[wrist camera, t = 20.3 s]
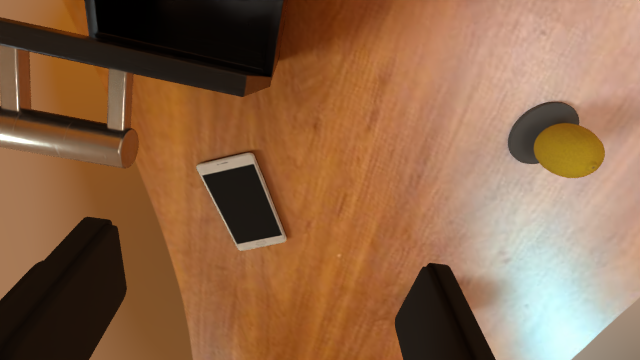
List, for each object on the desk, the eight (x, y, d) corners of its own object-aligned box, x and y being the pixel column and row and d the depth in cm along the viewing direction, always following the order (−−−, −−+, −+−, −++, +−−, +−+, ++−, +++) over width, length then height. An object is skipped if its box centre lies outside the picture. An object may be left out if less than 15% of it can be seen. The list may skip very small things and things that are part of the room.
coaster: (531, 95, 37) (534, 96, 36) (590, 109, 38) (594, 111, 37) (495, 155, 41) (497, 157, 40) (550, 167, 42) (553, 169, 42)
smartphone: (238, 252, 47) (194, 166, 39) (239, 249, 48) (195, 163, 40) (287, 242, 46) (252, 152, 39) (288, 239, 47) (253, 150, 39)
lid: (-252, -37, 9) (-211, 133, 11) (247, 74, 12) (228, 204, 13) (85, 35, 25) (85, 101, 27) (271, 77, 27) (262, 135, 29)
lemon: (573, 109, 37) (632, 138, 31) (561, 151, 40) (613, 186, 33) (524, 117, 38) (572, 147, 31) (516, 158, 41) (558, 194, 34)
